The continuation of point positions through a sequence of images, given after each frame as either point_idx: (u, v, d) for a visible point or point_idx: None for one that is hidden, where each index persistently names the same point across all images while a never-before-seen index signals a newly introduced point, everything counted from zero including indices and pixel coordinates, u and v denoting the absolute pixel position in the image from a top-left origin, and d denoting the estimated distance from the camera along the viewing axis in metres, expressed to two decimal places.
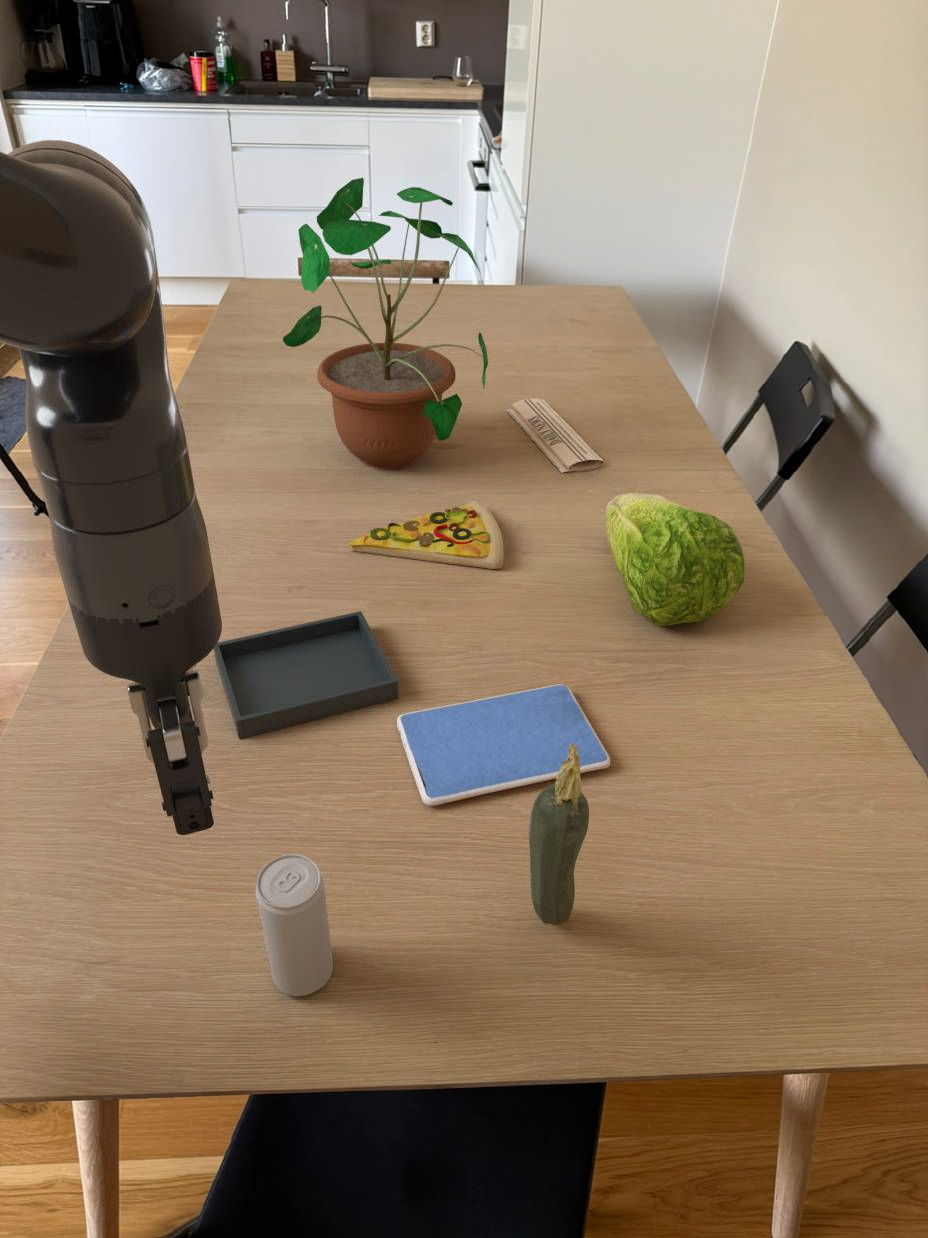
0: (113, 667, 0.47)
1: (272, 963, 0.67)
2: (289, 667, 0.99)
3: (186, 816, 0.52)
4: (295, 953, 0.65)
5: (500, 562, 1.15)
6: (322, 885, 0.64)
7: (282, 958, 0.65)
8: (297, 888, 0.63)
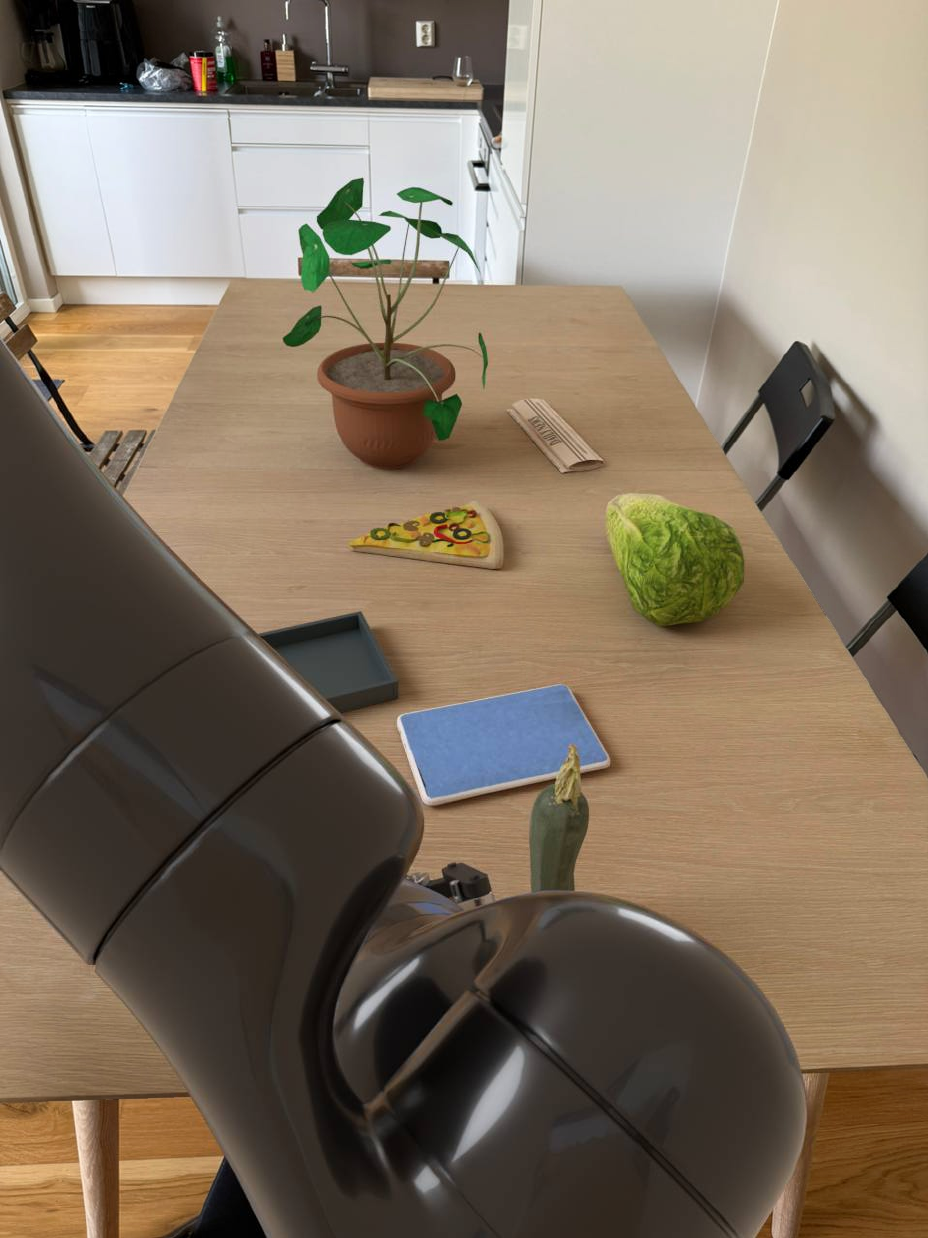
0: None
1: None
2: None
3: None
4: None
5: (500, 562, 1.15)
6: None
7: None
8: None
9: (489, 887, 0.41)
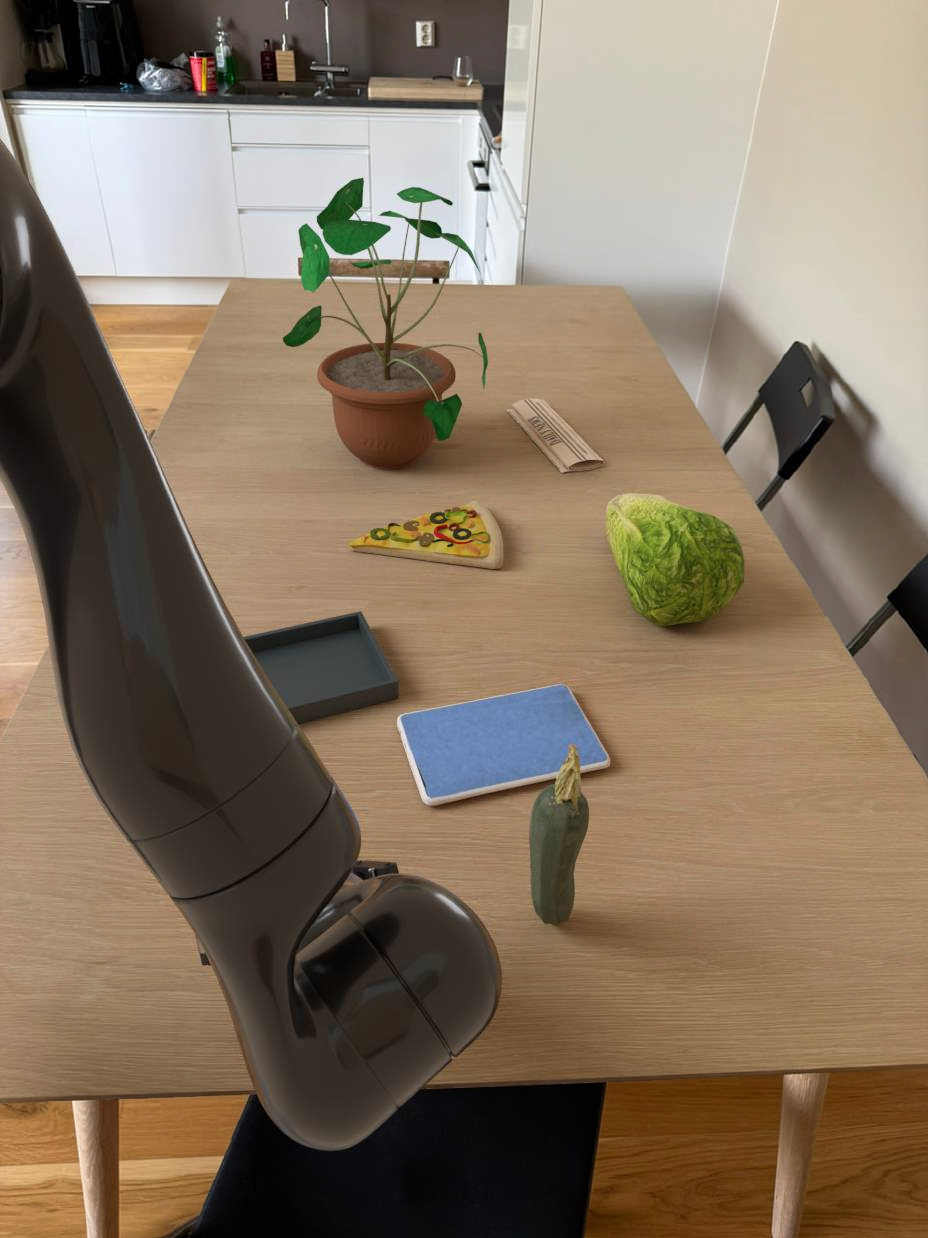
0: None
1: None
2: (289, 667, 0.99)
3: None
4: None
5: (500, 562, 1.15)
6: None
7: None
8: None
9: None
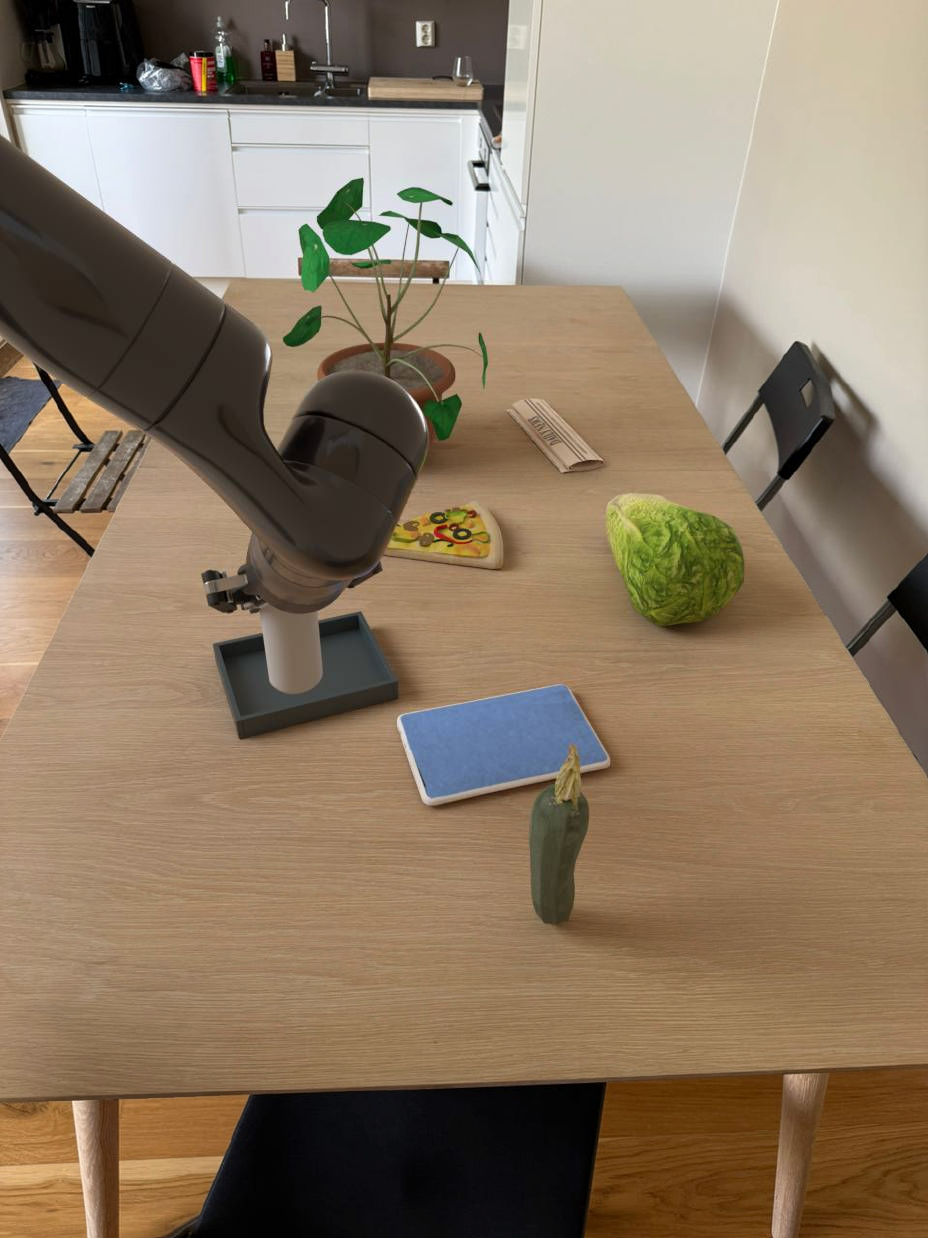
0: None
1: (269, 656, 0.77)
2: None
3: None
4: (289, 640, 0.75)
5: (500, 562, 1.15)
6: None
7: (277, 645, 0.75)
8: None
9: None
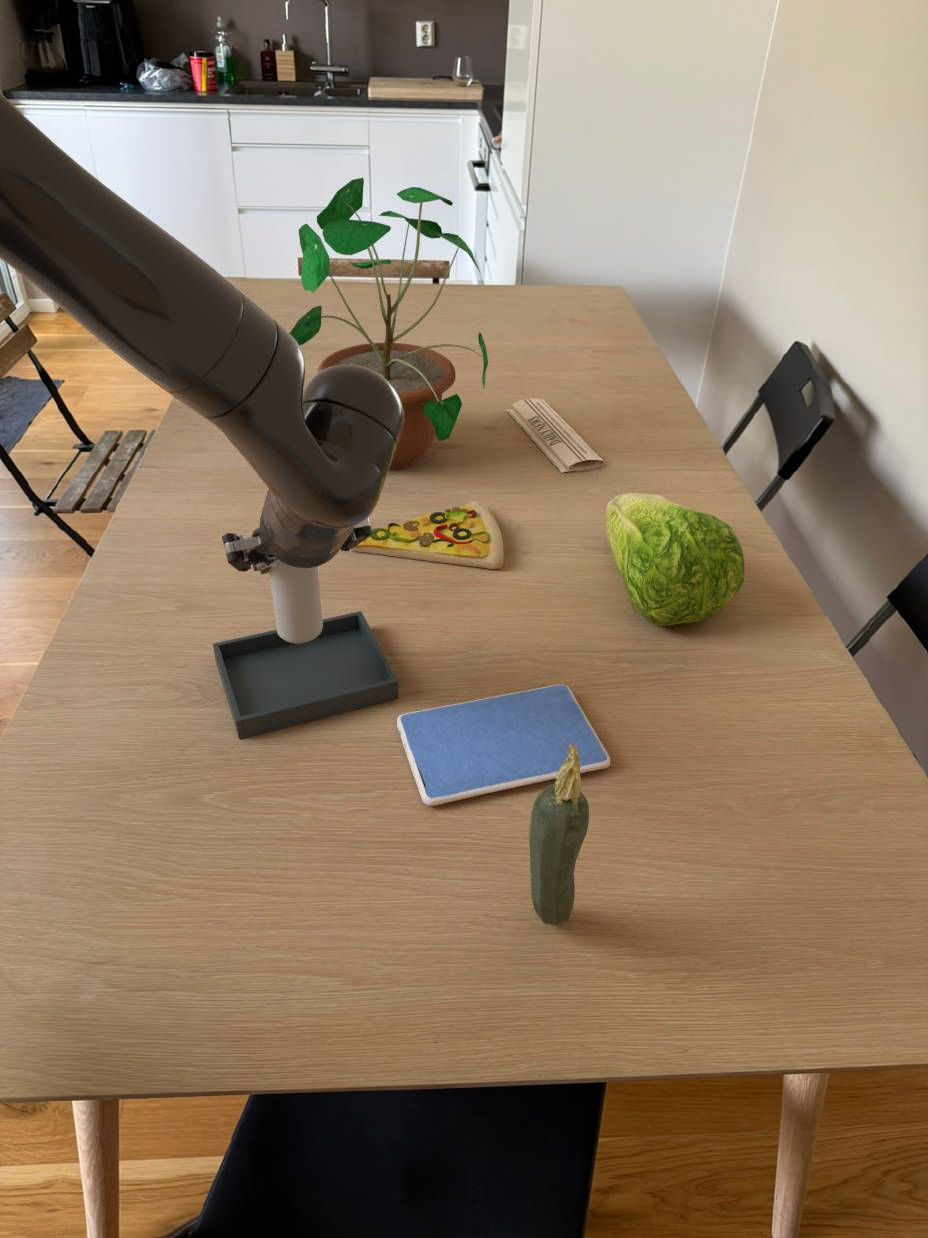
0: None
1: (277, 611, 0.90)
2: (289, 667, 0.99)
3: None
4: (294, 595, 0.88)
5: (500, 562, 1.15)
6: None
7: (284, 600, 0.89)
8: None
9: None
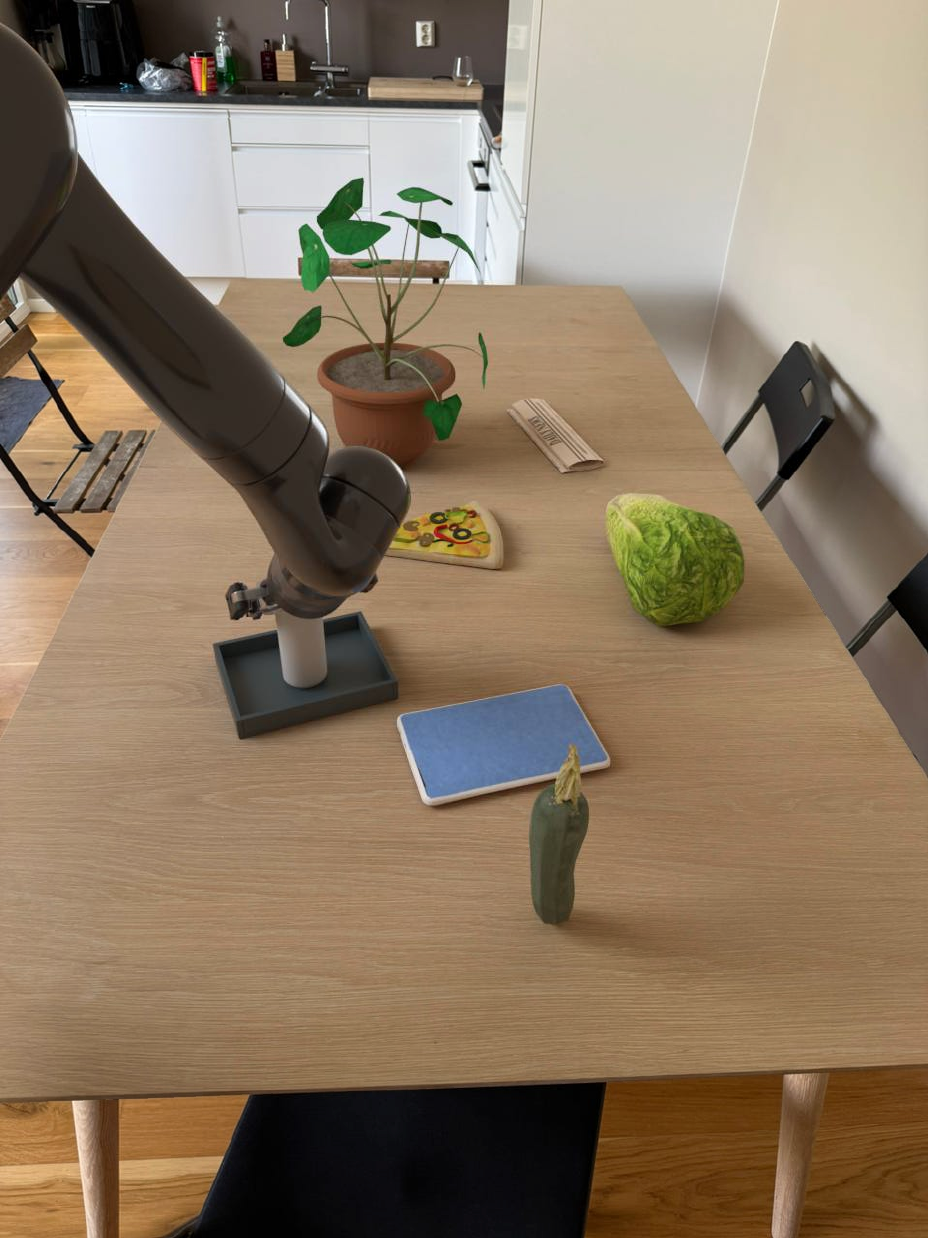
0: None
1: (284, 658, 0.94)
2: None
3: None
4: (300, 644, 0.92)
5: (500, 562, 1.15)
6: None
7: (291, 649, 0.92)
8: None
9: None
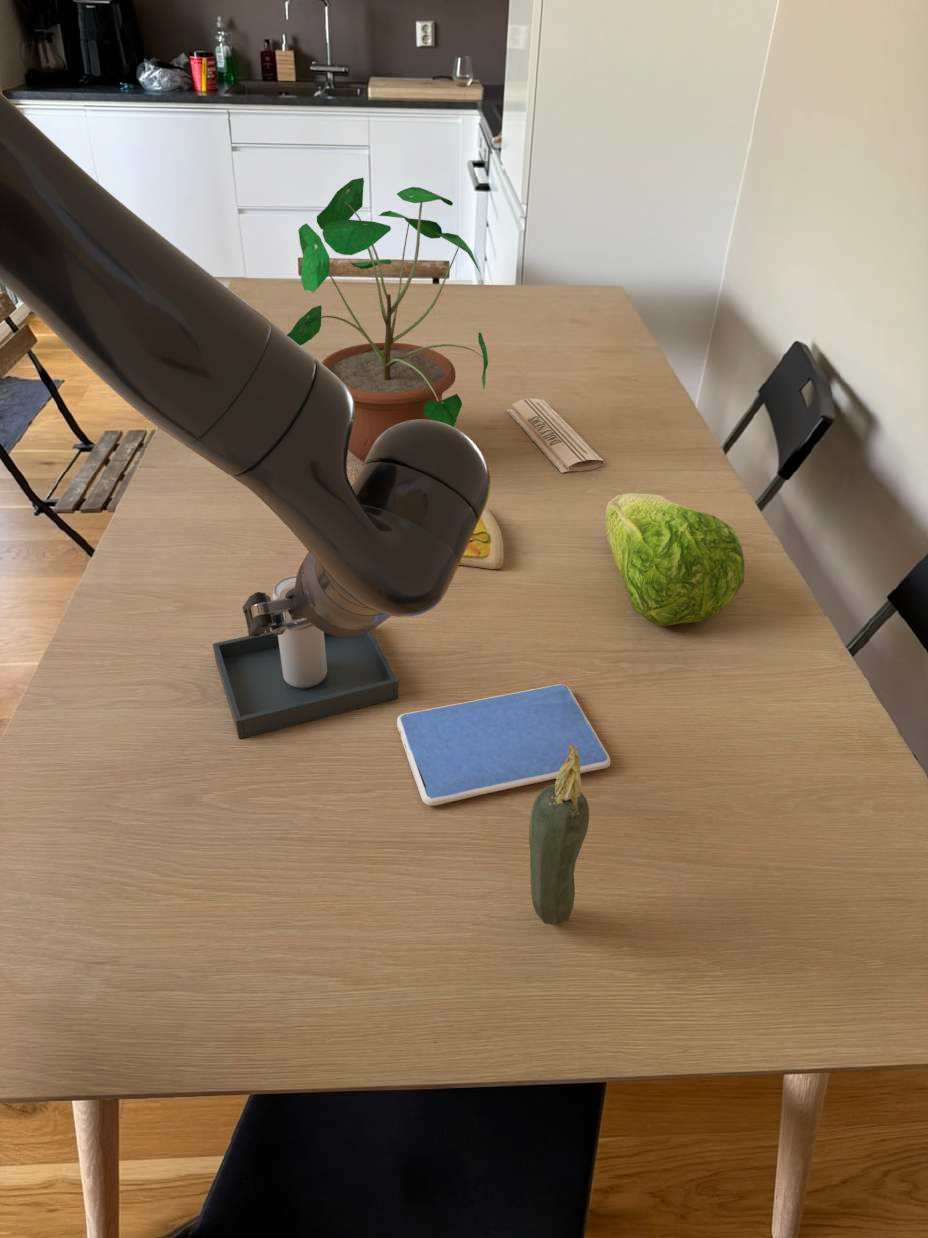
0: (300, 566, 0.66)
1: (283, 658, 0.94)
2: None
3: None
4: (300, 644, 0.92)
5: (500, 562, 1.15)
6: None
7: (291, 649, 0.92)
8: None
9: None
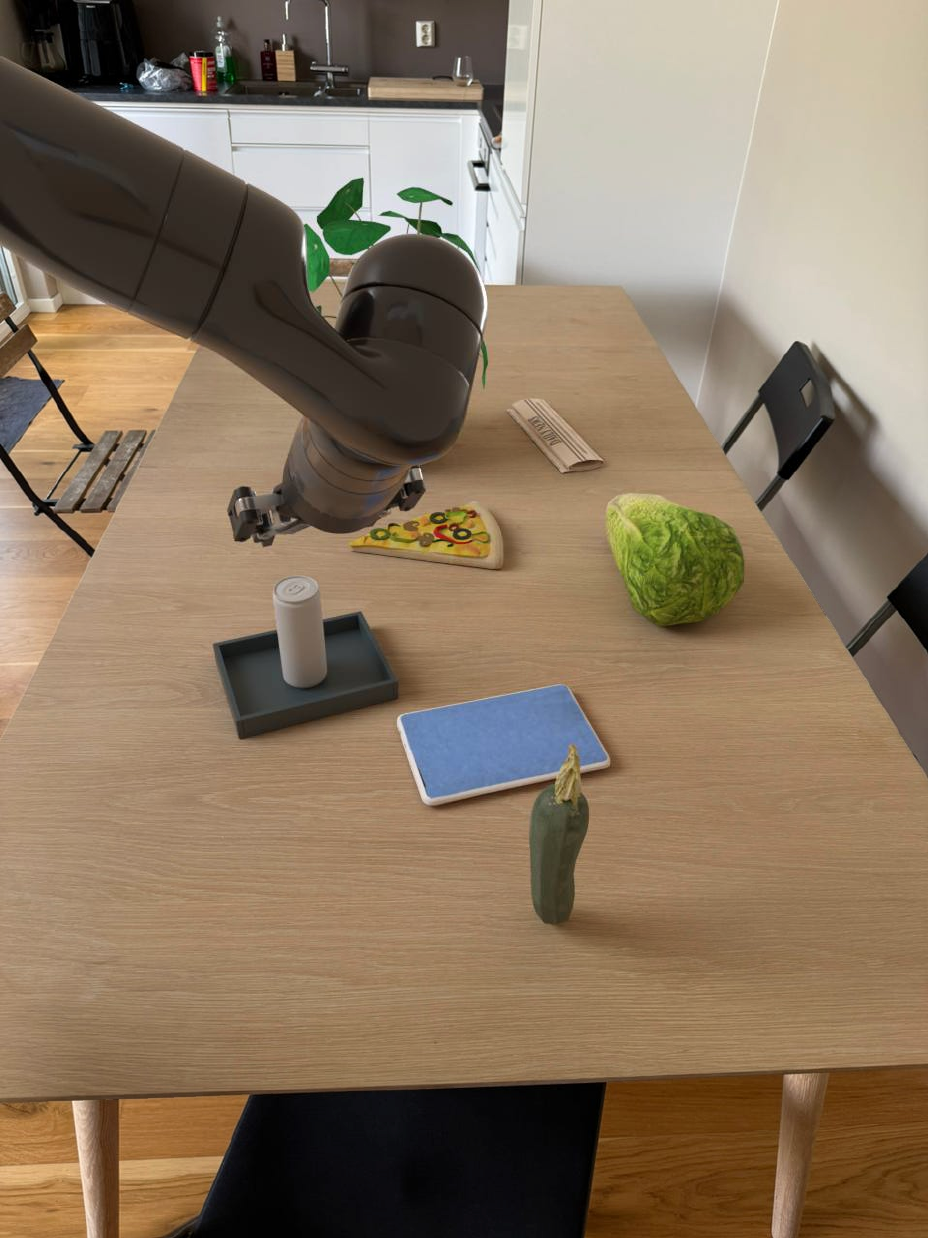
0: None
1: (283, 658, 0.94)
2: None
3: None
4: (300, 644, 0.92)
5: (500, 562, 1.15)
6: (319, 593, 0.91)
7: (291, 649, 0.92)
8: (301, 592, 0.90)
9: (418, 465, 0.66)
